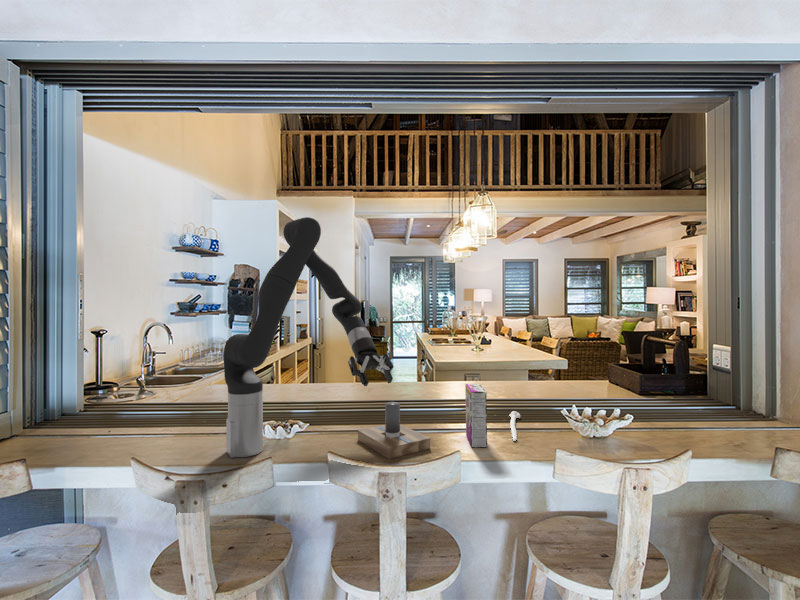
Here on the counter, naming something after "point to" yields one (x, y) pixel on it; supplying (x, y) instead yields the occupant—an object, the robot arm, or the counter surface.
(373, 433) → the board
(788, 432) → the counter surface
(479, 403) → the candy bar box
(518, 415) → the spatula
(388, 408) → the grey peg
